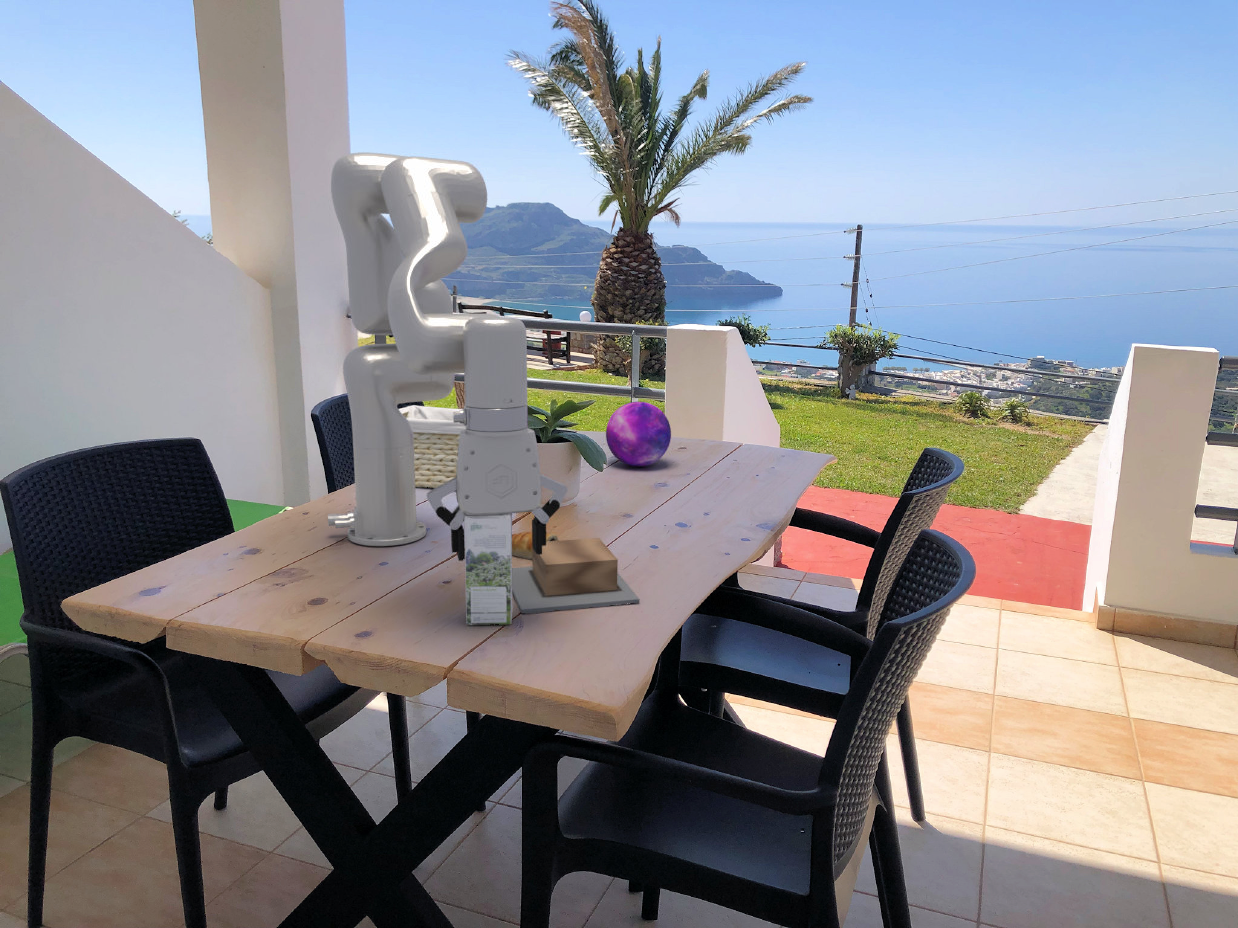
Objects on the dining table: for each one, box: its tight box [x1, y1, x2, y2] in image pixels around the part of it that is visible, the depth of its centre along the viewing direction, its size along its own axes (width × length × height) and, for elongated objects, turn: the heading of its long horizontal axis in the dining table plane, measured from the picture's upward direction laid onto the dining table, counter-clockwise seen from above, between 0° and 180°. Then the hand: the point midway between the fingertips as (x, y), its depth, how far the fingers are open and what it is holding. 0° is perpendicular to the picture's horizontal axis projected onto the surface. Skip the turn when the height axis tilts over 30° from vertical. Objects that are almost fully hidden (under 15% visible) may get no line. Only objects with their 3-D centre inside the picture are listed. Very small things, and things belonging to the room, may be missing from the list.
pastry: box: [512, 530, 560, 560], centre depth 134 cm, size 9×7×4 cm
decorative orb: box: [605, 401, 672, 468], centre depth 195 cm, size 15×15×15 cm
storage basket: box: [398, 404, 466, 489], centre depth 177 cm, size 24×16×15 cm
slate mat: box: [512, 566, 640, 614], centre depth 119 cm, size 16×16×1 cm
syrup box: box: [463, 513, 513, 626], centre depth 107 cm, size 6×6×14 cm
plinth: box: [528, 537, 621, 598], centre depth 120 cm, size 11×11×5 cm
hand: (499, 554), depth 107 cm, fingers open, 9 cm apart
